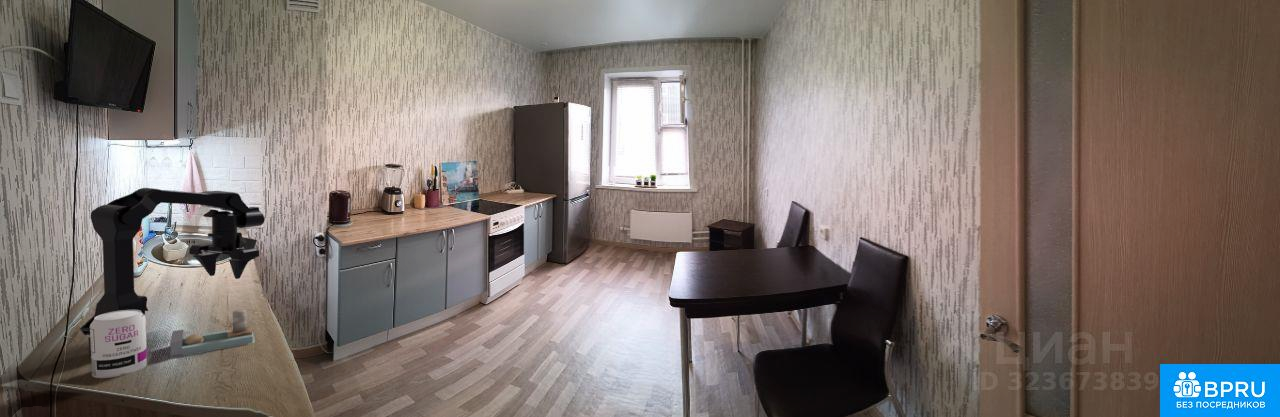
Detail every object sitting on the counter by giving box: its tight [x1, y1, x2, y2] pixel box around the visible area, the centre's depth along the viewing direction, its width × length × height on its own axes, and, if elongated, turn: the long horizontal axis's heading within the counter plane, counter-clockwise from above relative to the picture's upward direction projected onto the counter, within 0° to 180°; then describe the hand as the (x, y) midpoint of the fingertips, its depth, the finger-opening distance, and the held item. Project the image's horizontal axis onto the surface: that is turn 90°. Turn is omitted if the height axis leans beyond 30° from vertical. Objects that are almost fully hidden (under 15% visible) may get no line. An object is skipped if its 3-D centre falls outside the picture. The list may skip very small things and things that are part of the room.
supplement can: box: [89, 310, 148, 379], centre depth 98 cm, size 8×8×15 cm
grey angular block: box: [169, 329, 185, 358], centre depth 109 cm, size 2×9×4 cm, turn 47°
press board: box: [170, 329, 256, 359], centre depth 114 cm, size 16×10×3 cm, turn 137°
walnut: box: [184, 333, 203, 346], centre depth 111 cm, size 4×4×4 cm
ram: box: [226, 309, 253, 339], centre depth 117 cm, size 5×5×8 cm
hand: (224, 277), depth 131 cm, fingers open, 9 cm apart
